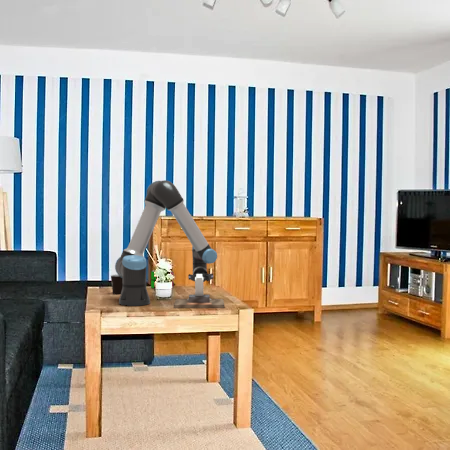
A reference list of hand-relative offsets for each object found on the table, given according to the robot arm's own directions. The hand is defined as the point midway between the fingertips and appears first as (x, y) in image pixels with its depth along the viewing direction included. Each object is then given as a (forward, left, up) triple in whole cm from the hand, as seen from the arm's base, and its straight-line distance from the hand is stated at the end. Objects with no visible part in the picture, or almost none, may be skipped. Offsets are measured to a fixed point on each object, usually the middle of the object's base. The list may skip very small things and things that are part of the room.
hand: (201, 280), depth 304 cm
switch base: (-1, +4, -12) cm, 13 cm away
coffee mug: (-45, +44, -13) cm, 64 cm away
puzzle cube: (-23, +64, -13) cm, 69 cm away
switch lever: (-1, +4, -8) cm, 9 cm away
